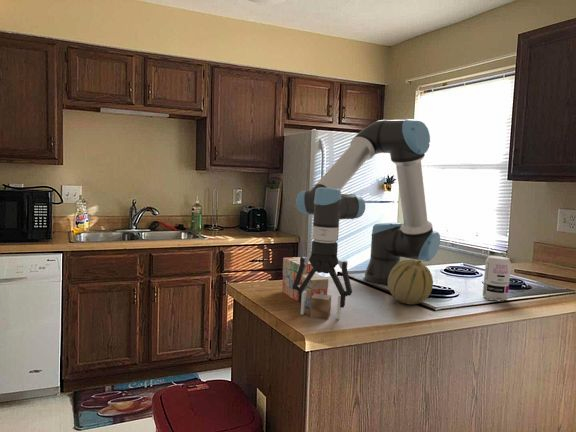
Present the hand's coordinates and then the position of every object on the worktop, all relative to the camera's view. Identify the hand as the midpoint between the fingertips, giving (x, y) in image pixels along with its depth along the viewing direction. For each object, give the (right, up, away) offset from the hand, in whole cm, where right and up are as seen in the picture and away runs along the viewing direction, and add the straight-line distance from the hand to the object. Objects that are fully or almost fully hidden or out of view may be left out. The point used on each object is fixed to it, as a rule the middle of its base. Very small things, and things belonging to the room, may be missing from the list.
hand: (320, 315), depth 141 cm
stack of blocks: (-5, +1, +18) cm, 18 cm away
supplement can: (+65, -1, +31) cm, 72 cm away
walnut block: (0, 0, 0) cm, 0 cm away
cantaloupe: (+31, 0, +19) cm, 36 cm away
